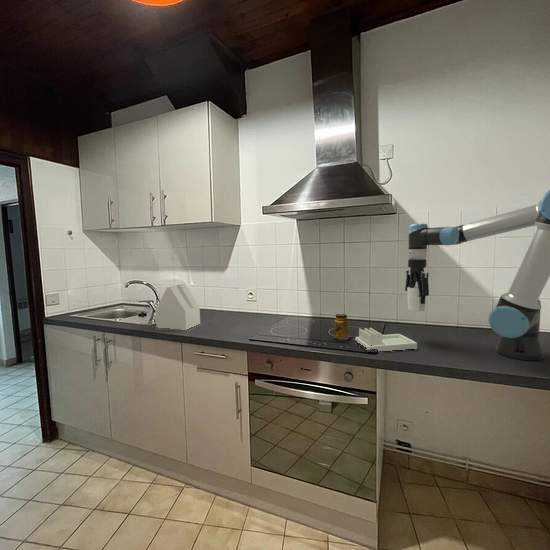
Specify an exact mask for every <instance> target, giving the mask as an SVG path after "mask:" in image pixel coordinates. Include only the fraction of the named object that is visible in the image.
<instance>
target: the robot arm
mask: <svg viewBox="0 0 550 550" xmlns="http://www.w3.org/2000/svg"><path fill="white" fill-rule="evenodd" d="M534 226H535V227H537V228H536V231H535V233H534V235H533V238H532V239H531V241H530V244H529V246H528V249H527V250H526V252H525V255H524V257H523V259H522V262H521V264H520V266H519V268H518V270H517V272H516V275H514V279H513V281H512V283H511V285H510V287H509V290H508V292H505V293H503V294H501V295H500V298H499V299H498V300H497V301H498V302H497V304H496V305H495V307H494V308H493V309H492V310H491V311H490V313H489V315H488V321H487V322H488V324H489V326H490V328H491V329H492V330H493V332H494V333H495V334H497V335H499V337H498V340H497V342H496V345H495V351H496V353H497V354H499V355H501V356H504V357H506V358H510V359H515V360H516V359H517V360H521V361H532V362H533V361H534V362H535V361H543V360H544V358H545V351H544V349H543V345H542V342H541V340H540V328H541V327H540V326H541V325H540V324H541V310H542V304H541V300H540V299H539V298H540V297H541V294H542V292H543V290H544V289H545V286H546V284H547V283H548V281H549V278H550V189H549V190H548V191H546V193H545V194H543V196H542V197H541V199H540V200H539V201H538V202H537V204H534V205H529V206H525V207H523V208H518V209H515V210H511V211H508V212H505V213H499V214H497V215H494V216H489V217H487V218H486V217H485V218H483V219H479V220H475V221H471V222H468V223H464V224H460V225H458V226H439V227H429V226H428V224H427V223H412V224H410V225H409V228H408V234H407V235H408V251H407V254H408V256H407V257H408V258H409V259H408V260H407V267H408V268H410V269H409V270H406V271H405V273H406V276H405V277H406V279H405V289H404V290H405V292H407V287H410V288H414V287H416V286H417V287H418V289H419V296H418V311H417V312H425V310H426V309H425V308H426V300H425V297H427V296H430V289H429V277H430V276H429V272H425V268H427V264H428V263H427V260H428V259H427V257H428V246H446V247H447V246H455V245H460V244H463V243H467V242H472V241H475V240H478V239H482V238H487V237H492V236H496V235H501V234H504V233H509V232H513V231H517V230H522V229H526V228H530V227H534ZM416 283H417V284H416Z"/></svg>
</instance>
